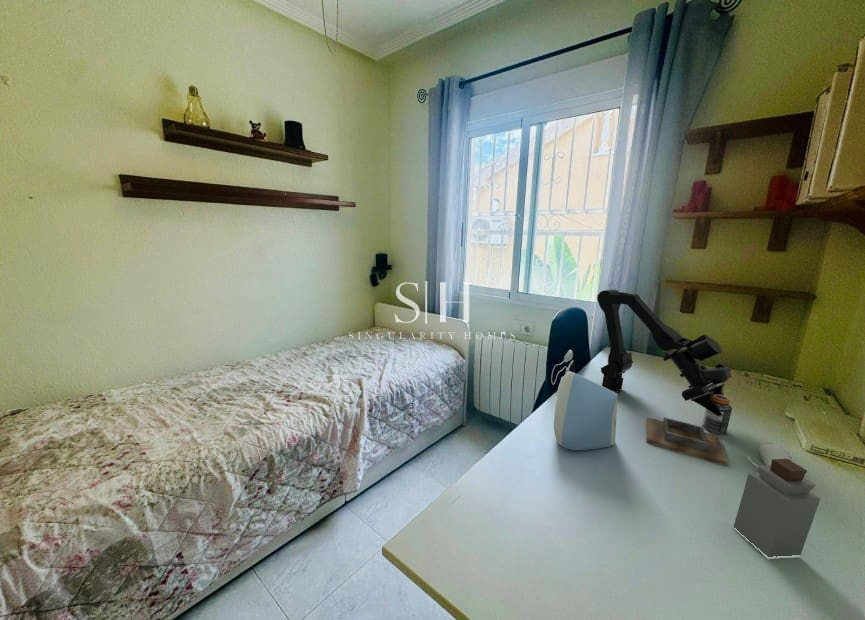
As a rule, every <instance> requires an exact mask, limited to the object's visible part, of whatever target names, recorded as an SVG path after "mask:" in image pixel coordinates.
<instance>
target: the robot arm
mask: <svg viewBox="0 0 865 620" xmlns="http://www.w3.org/2000/svg"><path fill="white" fill-rule="evenodd" d="M596 296H597V298H596V299H597V303H598V305H599V308H600V309H601V311H602V312H603V314H604V318H605V324H606V329H607V337H608V343H609V354H608V356H607V364H606V365H603V366H602V367H600V372H601V374H602V375H603V377H602V383H601V386H603V387H605V388H607V389H609V390H611V391H613V392H615V393H620V392H621V391H622V389H623V385H624V377H623V374H625V373H626V372H627V371H629V370H630V369H632V366H633V363H634V360H633V358H632V357H633V354H632V352H628V351H627V350H626V349H625V345H624V344H625V343H624V338H623V332H622V325H621V319H620V313H619V311H620V309H621V305H625V306H626V305H627V306H628V307H629V308H630V310H631V311H632V312H633V313H634V314H635V315H636V316H637V317H638V319H639V320H640V321H641V322H642V323H643V324H644V325H645V327H646V328H647V329H648V330H649V332H650V334H651V337H652V339H653V341H654V343H655V344H656V346H657V347H658V348H659V349H660V350H662V351H665V353H664V357H663V358H662V359H663V361H664V362H665V361H666V362H667V361H669V360H671V362H672V363H673V364H674V365H675V367H676V368H677V369H678V370H679V372H680V374H679V376H680V377H681V378H684V379H685V380H686V381H687V382H688V384H689V385H688V388H686V389H685V390H682V391H681V396H682V398H683V400H684V401H687V402H688V401H691V402H694V403H696V404H698V405H699V406H701V407H703V408H704V409H708V410H709V411H711V412H712V413H714V414H716V415H717V416H721V415H722V414H721V412H720V410H719V408H718V407H717V405H716V403H715V402H714V400H713V398H712V397H713V395H714V394H719V395H723V396H725V394H724V391H723V390H724V388H725V386H726V384H725V383H726V382H728V380H729V379H732V375H731V372H732V369H731V368H729V366H727V365H726V364H725V363H724V362H723V363H722V362H719V363H716V365H715V367H710V368H709V367H708V368H707V366H706V365H704V364H700V363H699V362H698V361H700V362H703V361H706V360H708V359H710V358H712V357H716V356H718V355H721V354H722V352H723V348H722V347H721V345H720V344H719V342H718V341H715V339H713V338H712V337H710V336H708V334H706V333H705V334H702V335H700V336H698V337H697V338H696V339H694V340H692V339H689V338H686V337H684V336H683V337H682V335H681V334H680V333H679V332H677V331H676V330H675V329H673V328H672V327H670V326H668V325H667V324H665V323H664V322H663V321H661V319H660V318H659V317H658V316H657V314H656V313H654V311H652V309H651V308H650V306H648V305H647V304H646V303H645V301H643V300H642V298H641V297H640V295H639V294H637V293H629V292H620V291H618V290H617V289H615V288H614V289H613V288H612V289H605V290H602V291H600V292H599V293H598V294H597V295H596ZM684 348H686V349H684ZM682 349H684V350H682ZM672 350H674V351H672ZM670 351H672V352H670ZM697 360H698V361H697Z"/></svg>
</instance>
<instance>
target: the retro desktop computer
mask: <svg viewBox="0 0 865 620" xmlns="http://www.w3.org/2000/svg"><path fill="white" fill-rule="evenodd" d="M573 357H574V353H573V350H572V349H569V350H568V351H567V353H566V354H565V355H564V357H563V361H562V362H561V363H559V364H555V365H554V367H553V369H552V372H551V375H553V373H554V370H555V368H556V366H561V365H562V364H563V363H567V362H569V361H570V362H569V364H568V367H567V366H564V367H563V368H562V369H561V370H559V371H558V372H557V374H556V378H555V380H554V382H553V376H551V377H550V379H551V380H550V381H551V384H552V385H555V384H556V382H557V378H558V375H559V373H560V372H562V371H563V370H565V374H564V376H561V377H560V382H559V384H558V388H557V392H556V400H555V401H556V402H555V405H554V407H555V409H554V416H553V417H554V418H553V430H554V436H555V439H556V441H557V443H558V444H559V445H560V446H561V447H563V448H565V449H567V450H569V451H570V450H571V451H588V450H596V449H603V448H609V447H611V446H614V445H615V444H616V443H615V442H616V429H617V415H618V414H617V413H618V400H619V395H618V393H617V392H615V391H611V390H609V389H607V388H605V387H603V386H602V384H599V383H597V382H594V381H593V380H591V379H588V378H587V377H585V376H582V375H580V374H578V373H576V371H575V368H576V367H575V361H574V359H573ZM565 368H566V369H565ZM614 443H615V444H614Z"/></svg>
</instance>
